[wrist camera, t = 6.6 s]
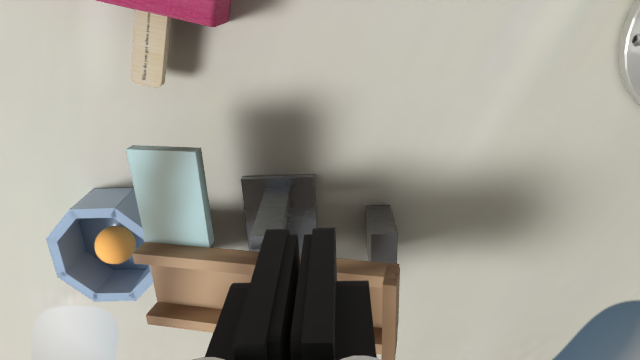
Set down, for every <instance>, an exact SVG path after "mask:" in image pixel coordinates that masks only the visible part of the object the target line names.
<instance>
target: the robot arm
mask: <svg viewBox="0 0 640 360" xmlns="http://www.w3.org/2000/svg"><path fill="white" fill-rule="evenodd" d="M633 37H634V39H633ZM632 39H633V41H632ZM618 62H619V68H620V75H621V78H622V80H623V83H624V85H625V88H626V90H627V91H628V92H629V94H630V95H631V97H632V98H633V99H634V101H636V102H637V103H638V104H639V105H640V0H636V1H635V3H634V4H633V6H632V7H631V9H630V11H629V14H628V16H627V18H626V21H625V23H624V25H623V29H622V33H621V37H620V41H619V54H618ZM193 360H380V359H378V358H377V357H376V347H375V337H374V328H373V318H372V308H371V299H370V289H369V281H368V280H363V281H337V264H336V237H335V228H313V230H312V234H304V238H303V246H302V253H301V261H300V256H299V242H298V235H290V231H289V229H266V231H265V234H264V238H263V241H262V245H261V248H260V251H259V255H258V258H257V262H256V265H255V269H254V272H253V275H252V279H251V282H250V283H232V284H231V286H230V288H229V291H228V294H227V296H226V299H225V302H224V305H223V308H222V310H221V313H220V316H219V319H218V322H217V324H216V327H215V330H214V333H213V336H212V338H211V341H210V344H209V347H208V350H207V353H206V355H205V357H202V358H198V359H193Z"/></svg>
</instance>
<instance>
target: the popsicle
mask: <svg viewBox="0 0 640 360" xmlns="http://www.w3.org/2000/svg"><path fill="white" fill-rule="evenodd" d="M97 1H101V2H105V3H110V4H114V5H118V6H123V7H127V8H131V9H135V24H134V39H133V55H132V70H131V79H132V81H133V82H134V83H136V84H141V85H146V86H150V87H155V88H158V87H160V86H162V85H163V84H164V82H165V74H166V63H167V52H168V42H169V31H170V20H171V18H175V19H179V20H184V21H188V22H192V23H197V24H201V25H206V26H210V27H216V26H218V25H221V24H224V23H227V22H228V19H229V12H230V5H231V0H97Z"/></svg>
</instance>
